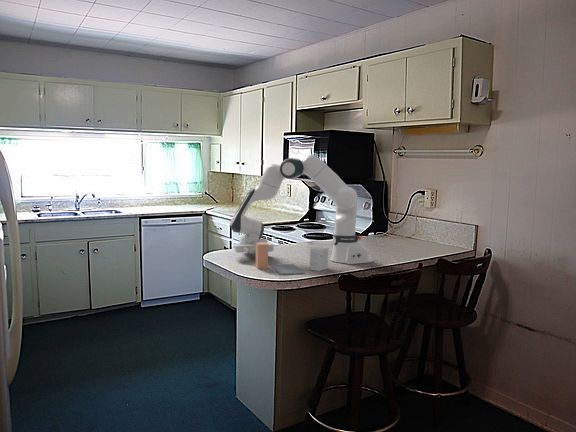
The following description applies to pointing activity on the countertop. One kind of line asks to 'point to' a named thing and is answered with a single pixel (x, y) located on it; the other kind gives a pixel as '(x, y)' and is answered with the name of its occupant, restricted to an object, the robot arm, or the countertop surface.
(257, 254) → the terracotta block
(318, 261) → the small box
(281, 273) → the mat
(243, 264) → the countertop surface
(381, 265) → the countertop surface
